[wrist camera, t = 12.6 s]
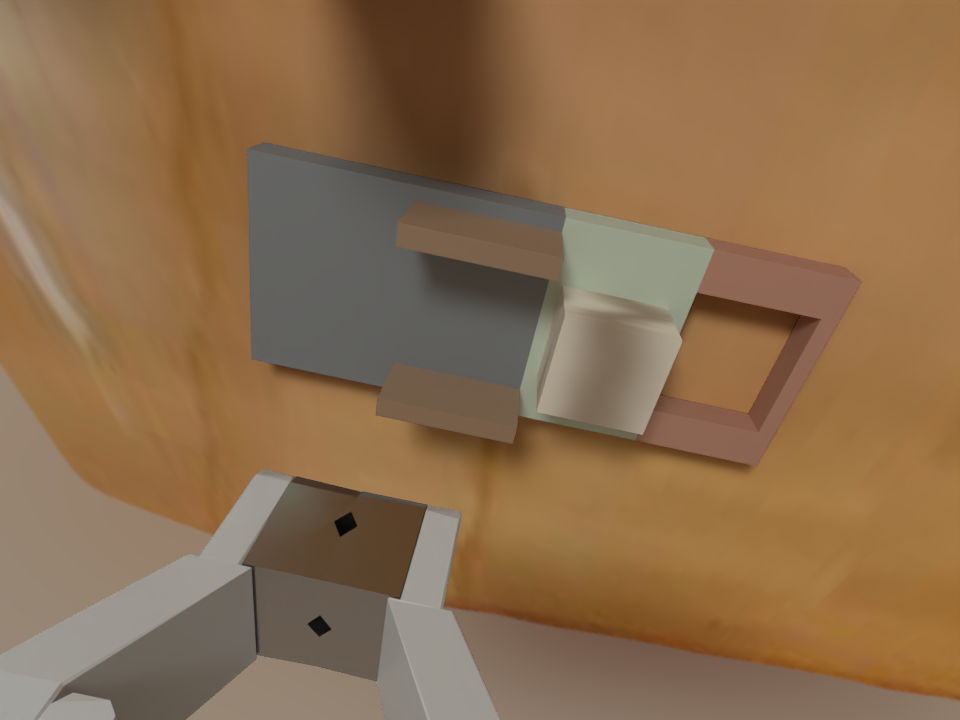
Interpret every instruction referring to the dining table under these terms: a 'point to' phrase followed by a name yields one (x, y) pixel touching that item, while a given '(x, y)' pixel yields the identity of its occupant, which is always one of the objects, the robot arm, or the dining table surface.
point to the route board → (495, 296)
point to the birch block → (606, 360)
